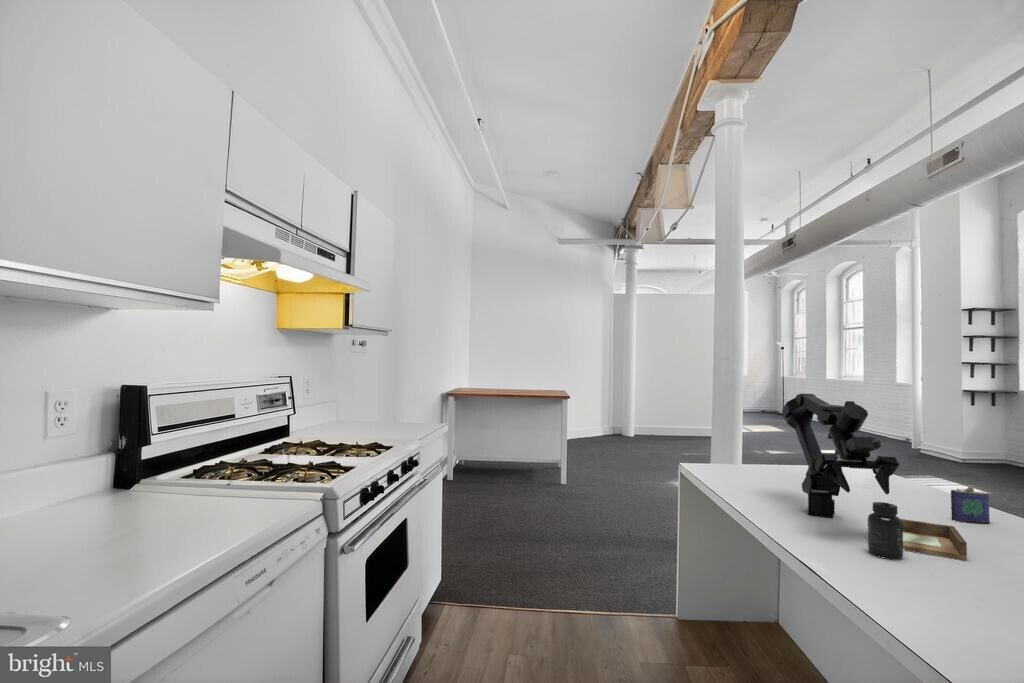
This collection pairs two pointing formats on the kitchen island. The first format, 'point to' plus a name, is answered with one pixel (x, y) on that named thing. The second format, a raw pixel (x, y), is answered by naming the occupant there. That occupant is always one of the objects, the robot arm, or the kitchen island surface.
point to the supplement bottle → (885, 531)
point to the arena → (933, 539)
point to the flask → (970, 506)
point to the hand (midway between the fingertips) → (868, 492)
